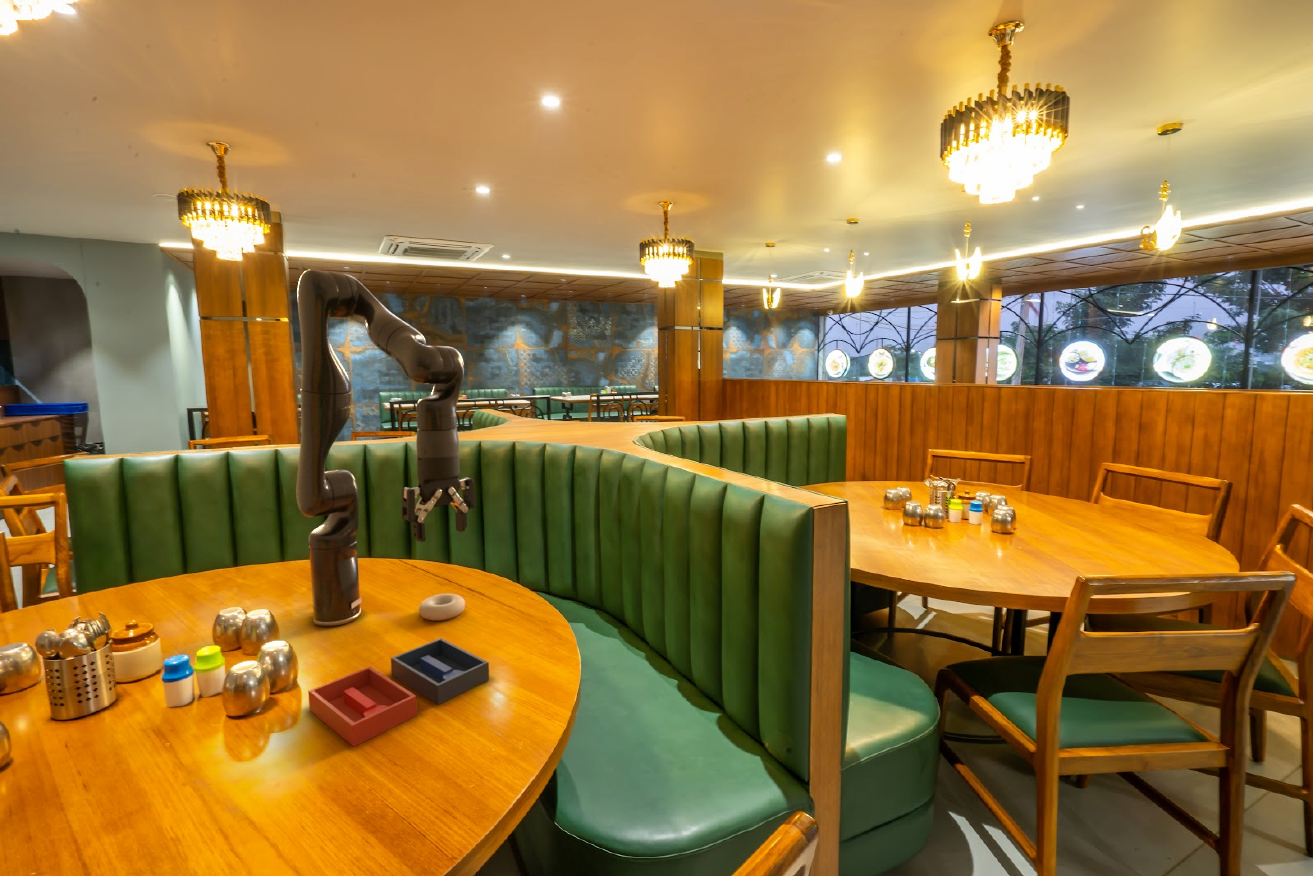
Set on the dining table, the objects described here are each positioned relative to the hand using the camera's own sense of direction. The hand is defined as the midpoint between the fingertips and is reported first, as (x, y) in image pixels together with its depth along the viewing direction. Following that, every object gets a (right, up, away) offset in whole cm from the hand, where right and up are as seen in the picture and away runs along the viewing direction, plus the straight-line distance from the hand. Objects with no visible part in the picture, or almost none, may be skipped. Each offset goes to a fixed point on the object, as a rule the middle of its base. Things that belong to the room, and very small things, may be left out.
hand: (441, 535), depth 114 cm
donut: (-7, -22, +21) cm, 31 cm away
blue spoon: (+2, -24, -6) cm, 25 cm away
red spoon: (-6, -26, -18) cm, 32 cm away
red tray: (-7, -26, -17) cm, 32 cm away
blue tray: (+2, -25, -6) cm, 26 cm away
